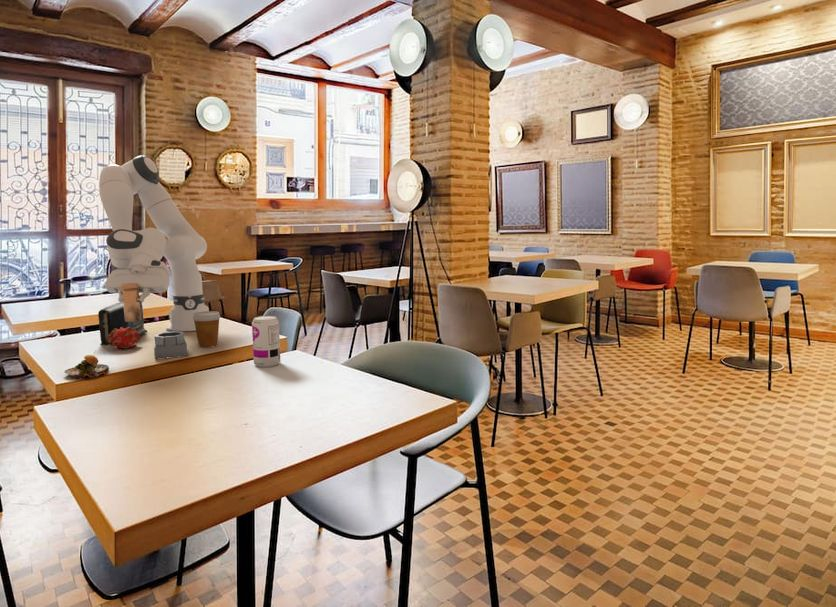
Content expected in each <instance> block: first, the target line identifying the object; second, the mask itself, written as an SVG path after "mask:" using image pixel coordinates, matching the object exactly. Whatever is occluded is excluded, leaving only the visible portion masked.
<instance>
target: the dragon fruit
mask: <svg viewBox="0 0 836 607" xmlns="http://www.w3.org/2000/svg"><path fill="white" fill-rule="evenodd" d="M114 330H115V331H114ZM141 338H142V334H141V335H140V334H139V333H138V332H136V330H131V328H130V327H127V328H125V329H124V328H123V327H120V329H113V331H111V334H109V335H108V342H109V344H110V346H109V347H112V348H114V347H116V348H117V350H121V349H122V348H123V349H125V350H126V349H128V348H136V347H138V345H137V344H138V342H139V340H141Z"/></svg>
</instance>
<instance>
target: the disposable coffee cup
mask: <svg viewBox="0 0 836 607" xmlns="http://www.w3.org/2000/svg"><path fill="white" fill-rule="evenodd" d="M192 318H193V320H194V323H195V328H196V331H195V332H196V337H197V343H198V347H199V348H202V347H209V348H213V347H212V346H215V347H217V346H218V341H219V328H220V327H219V326H220V319H221V315H220V312H219V311H214V310H213V311H212V310H209V311H205V312H197V313H194V315H193V317H192ZM216 345H217V346H216Z"/></svg>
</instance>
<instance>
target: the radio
mask: <svg viewBox="0 0 836 607" xmlns="http://www.w3.org/2000/svg"><path fill="white" fill-rule="evenodd" d="M140 313H141V320H139V321H133V322H126V321H125V316H124V305H123V302H118V303H114V304H111V305H109V306H105V307H103V308H101V309H100V310H98V314H97V316H98V326H99V327H98V328H99V334H100V341H101V342H100V344H99V345H101V346H107V347H111V346H110V344H109V342H108V335H109V334H111V331H113V329H120V327H123V328H124V329H125V328H127V327H130V328H131V330H136V332H138V333H139V334H140V335H141V336H142V335H143V334H147V333H148V330H147V329H145V326H144V325H145V321H144V320H145V317H144V310H143V302H140ZM114 331H115V330H114Z"/></svg>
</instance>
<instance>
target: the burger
mask: <svg viewBox="0 0 836 607" xmlns="http://www.w3.org/2000/svg"><path fill="white" fill-rule="evenodd" d="M95 353H96V351H94V353H93V355H92V354H86V355H84V356H83V358H84V359H82V360H81V361H80V363H77V365H75V366H74V367H71V368H68V369H66V370H64V373H65V374H66V375H69V377H75V379H76V380H84V379H85V377H89V378H92V379H95V378H98V377H99V376H101V375H104V376H105V375H107V374H108V372H109V373H110V366H109V365H108V364H101V363H100V364H99V359H98V357H96V355H94V354H95Z"/></svg>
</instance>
